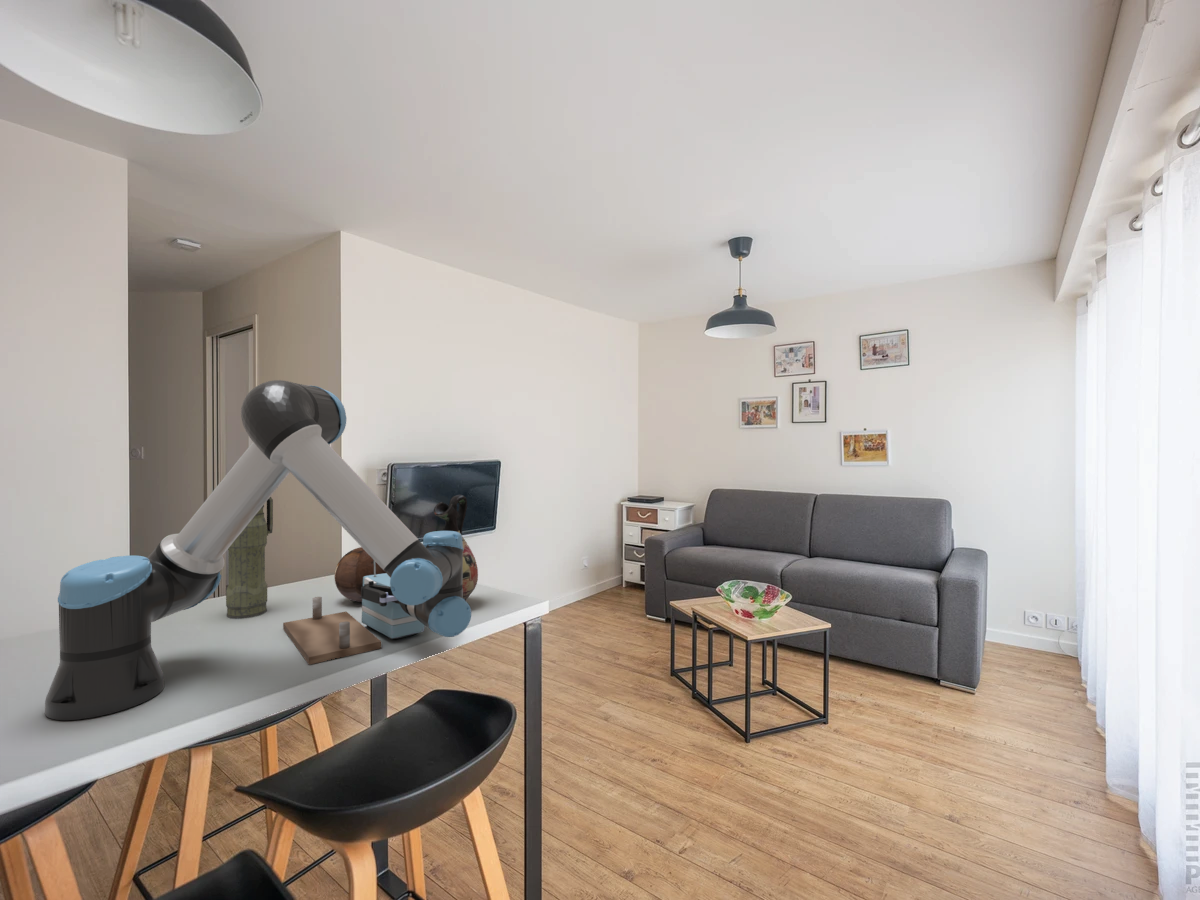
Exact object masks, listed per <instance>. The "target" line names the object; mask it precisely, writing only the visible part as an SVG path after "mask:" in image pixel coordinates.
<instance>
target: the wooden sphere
mask: <svg viewBox="0 0 1200 900" xmlns="http://www.w3.org/2000/svg"><path fill="white" fill-rule="evenodd" d="M375 564H376V574H384V573H386V572H385V571H384V570H383V569H382V568H381V567H380V566H379V565H378V564H377V563H376V562H375ZM334 570H335V571H334V583H335V586H336V588H337V590H338V592H339V593H340V594H341V595H342V596H343V597H344V598H345V599H348V600H350V601H353V602H359V603H362V598H361V587H362V586H363V577H364V576H369V575H374V560H373V558H372V557H371V556H370V555H369V554H368V553H367V552H366V551H365V550H364V549H363V548H362V547H361V546H359V547H357V548H354V549H352V550H350V551H348V552H347V553H345V555H343V556H342V557H341V559H340V560H339V561H338V563H337V564H336V567H335V569H334Z"/></svg>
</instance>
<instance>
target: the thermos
mask: <svg viewBox="0 0 1200 900" xmlns="http://www.w3.org/2000/svg"><path fill="white" fill-rule="evenodd" d="M264 508H265V504H264V505H263V506H262V507H261V509H260V510H259V511H258V512H257V514H256V515H255V516H254V517H253V519H252V520H251V521H250V522H249V524H248V525H247V526H246V527H245V529H244V530H243V531H242V532H241V533H240V535H239V536H238V537H237V538H236V540H235V541H234V542H233V543H232V545H231V546H230V547H229V548H228V550H227V551H228V584H227V587H226V590H225V607H226V609H227V610H226V617H227V618H229V619H238V620H239V619H247V618H253V617H257V616H258V617H259V616H261V615H263V614H265V613H266V612H267V611H268V608H267V602H268V584H267V581H266V559H265V558H266V552H265V551H266V549H265V548H266V545H267V544H268V536H269V535H270V534H272V533H273V527H274V519H273V518H274V499H273V498H272V497H271V496H270V498H269V499H268V500H267V501H266V519H265V512H264Z"/></svg>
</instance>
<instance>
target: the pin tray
mask: <svg viewBox="0 0 1200 900" xmlns="http://www.w3.org/2000/svg"><path fill="white" fill-rule="evenodd" d="M282 630H283V631H284V632H285V634H286V635H287V637H288V638H289V640H290V641H291V643H293V644H294V646H295V648H297V650H298V652H299V653H300V655H301V656H302V657H303V659H304V660H305V661H306V662H307V664H308V665H309V666H310V665H315V664H319V663H322V662H327V660H328V661H331V659H332V660H336V659H335V658H337V659H341V658H345V656H346V657H349V656H353V655H358V654H362V653H367V652H371V651H376V650H379V649H382V641H381V639H379V638H378V637H377V636H376V635H375V634H373V633H372V632H371V631H370V630H368V628H366V627H365V626H364V625H363V623H361V622H359V621H358V620H357V619H356V618H355V617H354V616H353V615H351V614H350V613H349V612H347V611H342V612H337V613H329V614H325V615H323V597H322V596H314V597H312V617H308V618H301V619H296V620H291V621H285V622H282ZM340 657H341V658H340Z"/></svg>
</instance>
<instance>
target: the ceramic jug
mask: <svg viewBox="0 0 1200 900" xmlns="http://www.w3.org/2000/svg"><path fill="white" fill-rule="evenodd" d="M467 509H468V500H467V497H466V496H465V495H462V494H457V495H453V496H452V497H451V498H450V500H449V504H447V503H445V502H443V501H440V502H438V503H437V504H436V505H435V507H434V508H433V514H434V515H435V516H436V517H438V518H440V519H443V520H444V522H445V523H444V528H443V529H442V530H441V531H456V532H459V533H460V534H461V535H462V534H463V527H464V521H465V518H466V514H467ZM462 542H463V549H464V551H463V581H462V584H463V599H465V601H466V602H467V600H468V599H469V597H470V595H471V594H472V593H473V592H474V590H475V589H476V588H477V585H478V580H479V579H478V578H479V568H478V565H477V560H476V557H475V555H474V553H473V551H472V549H471V547H470V546H469V544H468V543H467V541H466V539H465V538H464V537H463V535H462Z"/></svg>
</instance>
